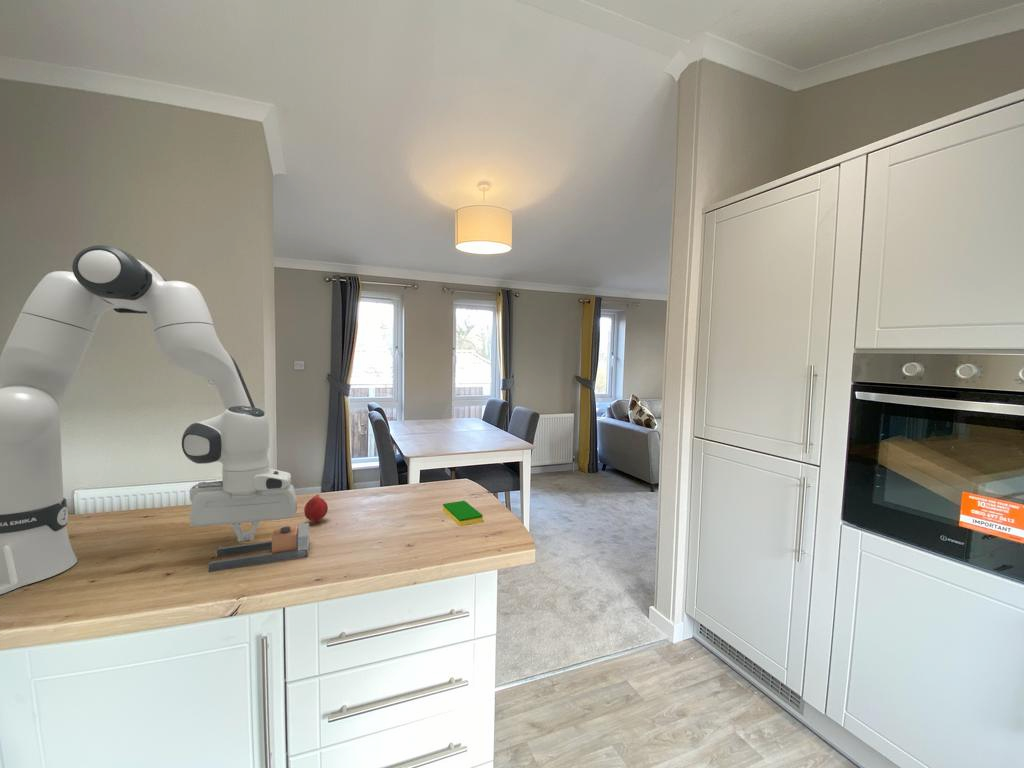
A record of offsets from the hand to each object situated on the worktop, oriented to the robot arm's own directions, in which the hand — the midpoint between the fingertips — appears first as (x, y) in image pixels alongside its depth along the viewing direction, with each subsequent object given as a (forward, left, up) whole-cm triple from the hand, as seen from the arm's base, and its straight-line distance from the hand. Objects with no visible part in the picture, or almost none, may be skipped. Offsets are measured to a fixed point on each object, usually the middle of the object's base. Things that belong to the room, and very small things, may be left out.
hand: (245, 540), depth 95 cm
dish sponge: (+53, +8, -5) cm, 54 cm away
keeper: (+8, 0, -4) cm, 9 cm away
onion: (+14, +17, -5) cm, 23 cm away
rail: (+3, 0, -4) cm, 5 cm away
